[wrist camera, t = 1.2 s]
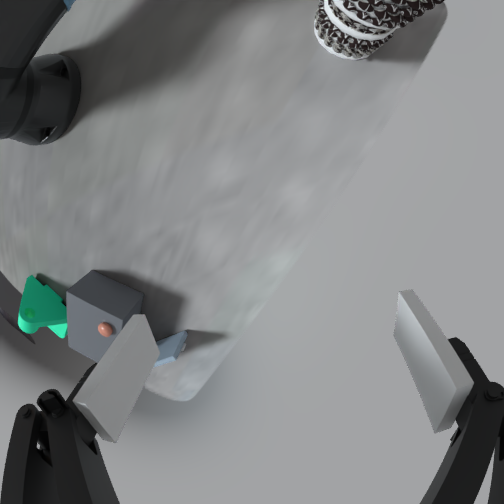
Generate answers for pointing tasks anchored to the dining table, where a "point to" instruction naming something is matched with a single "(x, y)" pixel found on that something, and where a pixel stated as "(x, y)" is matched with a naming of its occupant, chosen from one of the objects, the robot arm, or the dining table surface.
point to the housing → (98, 313)
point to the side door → (170, 348)
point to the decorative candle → (363, 23)
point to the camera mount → (42, 309)
